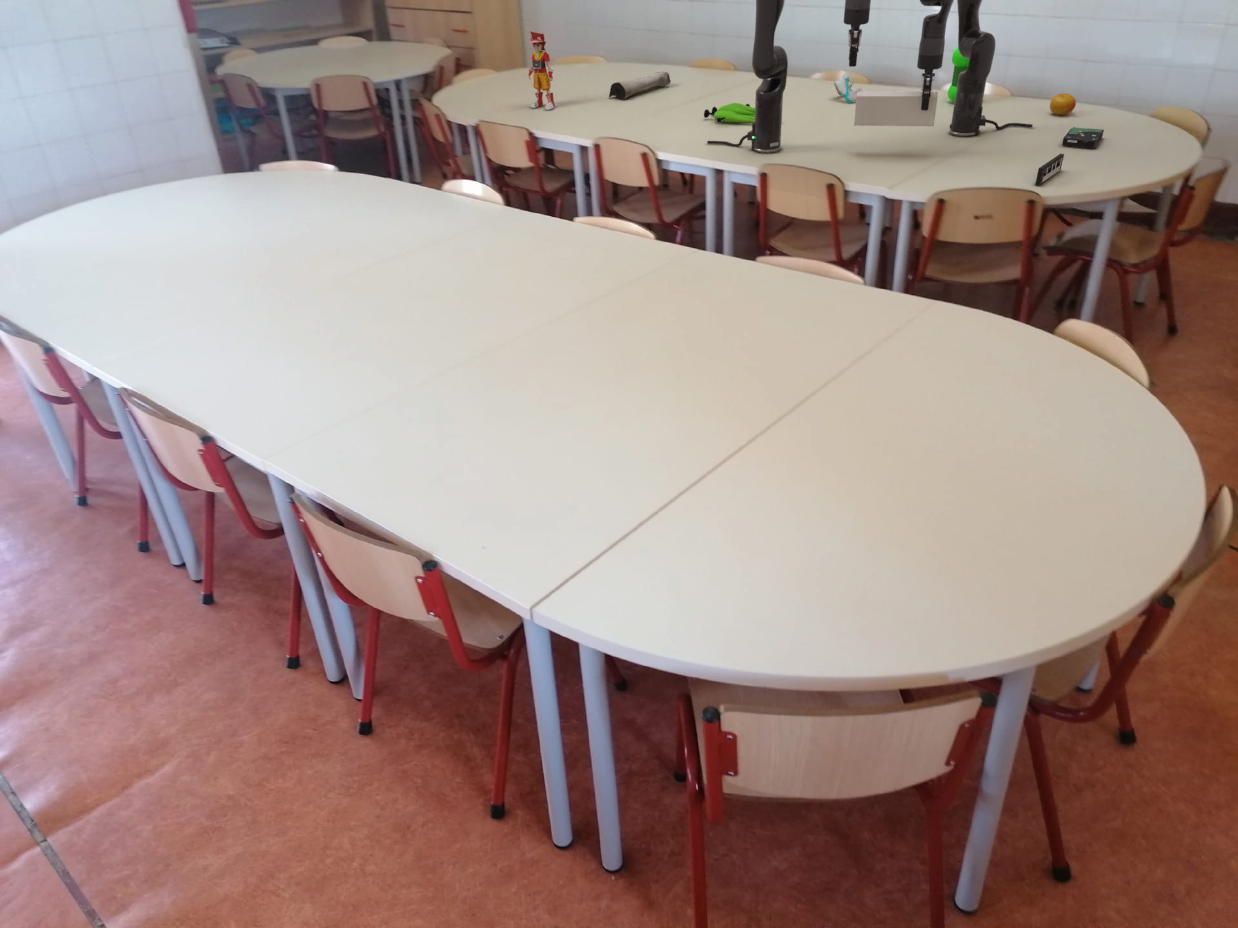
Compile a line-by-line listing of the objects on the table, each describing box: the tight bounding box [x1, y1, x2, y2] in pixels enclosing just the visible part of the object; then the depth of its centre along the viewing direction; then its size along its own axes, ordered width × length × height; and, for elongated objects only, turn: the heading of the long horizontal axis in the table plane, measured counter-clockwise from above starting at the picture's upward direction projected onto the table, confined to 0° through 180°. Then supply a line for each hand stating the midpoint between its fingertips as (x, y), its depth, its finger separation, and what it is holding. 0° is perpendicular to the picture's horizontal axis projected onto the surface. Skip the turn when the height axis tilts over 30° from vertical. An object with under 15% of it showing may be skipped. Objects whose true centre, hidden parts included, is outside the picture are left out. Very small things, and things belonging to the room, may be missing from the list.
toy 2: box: [703, 102, 755, 124], centre depth 348 cm, size 28×5×30 cm
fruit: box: [1049, 93, 1077, 116], centre depth 330 cm, size 8×8×8 cm
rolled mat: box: [608, 71, 672, 101], centre depth 395 cm, size 30×9×10 cm
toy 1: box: [527, 31, 556, 111], centre depth 374 cm, size 12×9×30 cm
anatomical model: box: [833, 74, 862, 104], centre depth 365 cm, size 15×10×10 cm
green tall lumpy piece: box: [947, 47, 969, 104], centre depth 347 cm, size 10×10×25 cm
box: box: [853, 91, 939, 127], centre depth 294 cm, size 25×6×9 cm, turn 73°
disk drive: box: [1062, 127, 1105, 149], centre depth 302 cm, size 10×3×15 cm
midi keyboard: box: [1035, 153, 1065, 186], centre depth 273 cm, size 18×1×5 cm, turn 138°
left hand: (852, 63), depth 281 cm, fingers open, 8 cm apart
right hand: (924, 107), depth 291 cm, fingers closed on box, 6 cm apart
